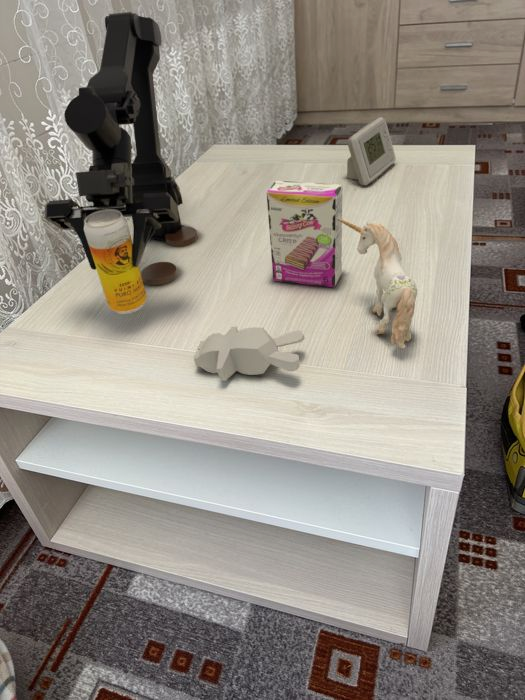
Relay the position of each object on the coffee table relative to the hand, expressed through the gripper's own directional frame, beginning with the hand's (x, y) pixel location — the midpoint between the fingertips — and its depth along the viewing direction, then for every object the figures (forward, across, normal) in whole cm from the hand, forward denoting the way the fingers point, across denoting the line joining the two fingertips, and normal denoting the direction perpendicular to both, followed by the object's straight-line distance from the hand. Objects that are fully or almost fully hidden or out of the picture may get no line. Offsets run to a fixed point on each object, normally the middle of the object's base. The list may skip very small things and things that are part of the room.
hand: (114, 267), depth 81 cm
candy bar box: (0, +29, +16) cm, 33 cm away
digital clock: (-31, +45, +48) cm, 73 cm away
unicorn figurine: (+9, +38, +6) cm, 39 cm away
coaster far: (-13, +4, +29) cm, 32 cm away
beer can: (+4, 0, +6) cm, 8 cm away
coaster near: (-3, +2, +19) cm, 19 cm away
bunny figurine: (+16, +20, 0) cm, 25 cm away
